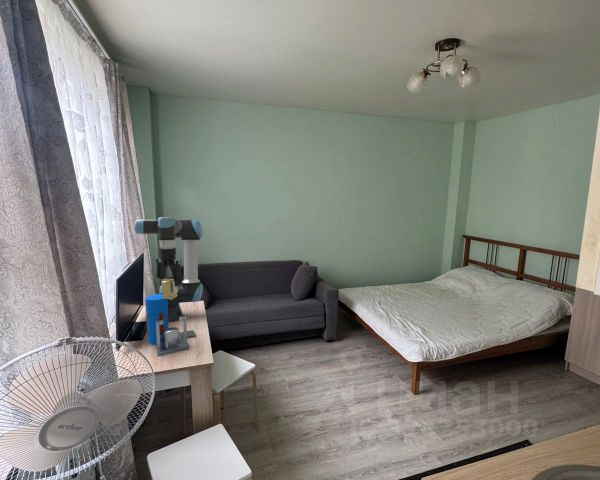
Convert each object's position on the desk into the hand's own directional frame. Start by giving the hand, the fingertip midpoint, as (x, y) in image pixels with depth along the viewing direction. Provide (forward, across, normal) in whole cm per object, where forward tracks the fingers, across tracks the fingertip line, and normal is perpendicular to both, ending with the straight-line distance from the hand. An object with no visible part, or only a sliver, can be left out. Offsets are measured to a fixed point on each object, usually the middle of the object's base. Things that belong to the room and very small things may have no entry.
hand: (169, 291), depth 157 cm
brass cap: (+3, 0, 0) cm, 3 cm away
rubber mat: (+31, -2, +15) cm, 34 cm away
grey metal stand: (+31, 0, 0) cm, 31 cm away
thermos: (+31, -13, +5) cm, 34 cm away
